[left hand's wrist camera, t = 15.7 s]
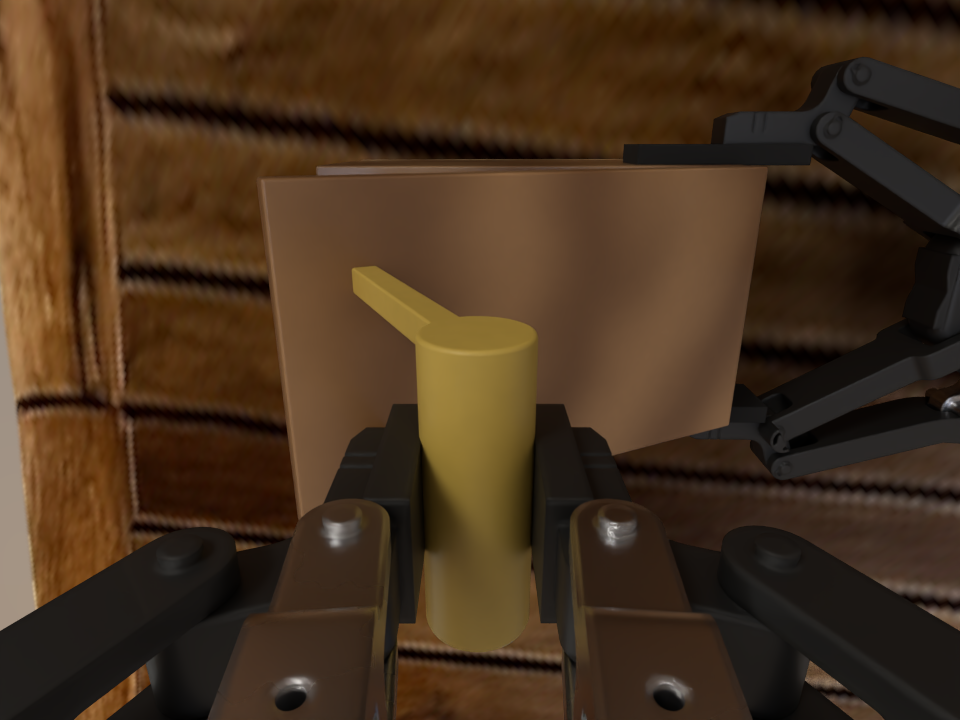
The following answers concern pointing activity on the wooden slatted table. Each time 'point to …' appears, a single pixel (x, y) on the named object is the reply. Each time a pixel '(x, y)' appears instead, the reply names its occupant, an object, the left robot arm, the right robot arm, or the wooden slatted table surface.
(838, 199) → the wooden slatted table surface
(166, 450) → the wooden slatted table surface
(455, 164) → the chest
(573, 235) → the lid
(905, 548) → the wooden slatted table surface
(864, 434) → the right robot arm
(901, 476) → the wooden slatted table surface
